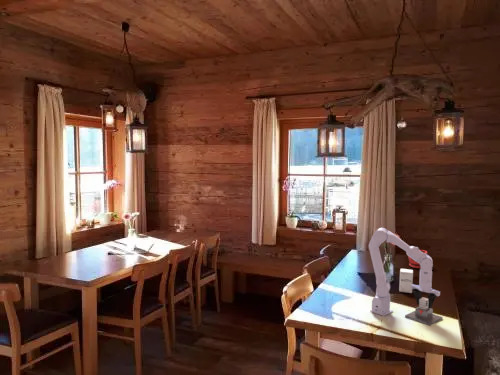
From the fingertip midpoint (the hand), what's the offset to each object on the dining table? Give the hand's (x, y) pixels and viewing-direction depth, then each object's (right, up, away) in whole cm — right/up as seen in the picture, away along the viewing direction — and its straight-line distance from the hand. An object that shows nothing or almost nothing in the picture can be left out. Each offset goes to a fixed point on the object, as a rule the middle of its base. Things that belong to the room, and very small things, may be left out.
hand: (424, 305), depth 209 cm
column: (0, -5, 0) cm, 5 cm away
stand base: (0, -6, +1) cm, 6 cm away
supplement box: (+6, -3, +42) cm, 42 cm away
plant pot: (+34, +2, +94) cm, 100 cm away
